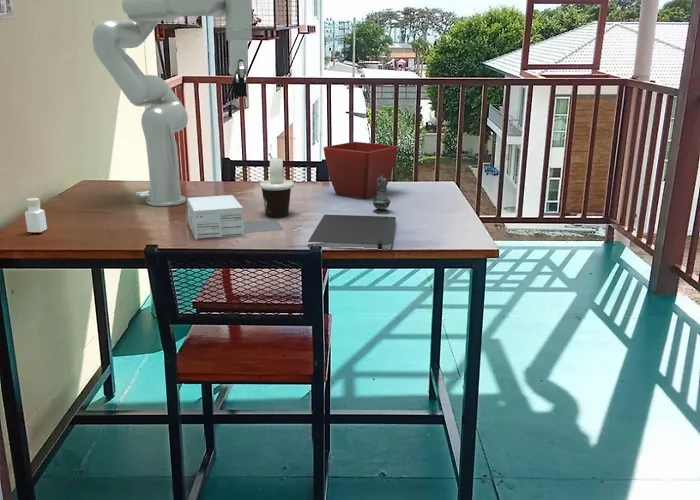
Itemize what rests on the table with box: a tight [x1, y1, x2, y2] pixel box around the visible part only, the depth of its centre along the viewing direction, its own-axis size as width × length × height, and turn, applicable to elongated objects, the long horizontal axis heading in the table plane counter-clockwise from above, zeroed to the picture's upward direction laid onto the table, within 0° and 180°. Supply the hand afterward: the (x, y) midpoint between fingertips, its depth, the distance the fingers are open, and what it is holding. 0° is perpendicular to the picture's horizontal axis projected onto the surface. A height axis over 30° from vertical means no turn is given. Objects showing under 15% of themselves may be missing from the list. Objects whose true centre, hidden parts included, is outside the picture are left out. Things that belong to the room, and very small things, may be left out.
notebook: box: [307, 214, 397, 249], centre depth 180 cm, size 22×2×28 cm
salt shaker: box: [24, 197, 48, 233], centre depth 178 cm, size 4×4×10 cm
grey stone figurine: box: [371, 175, 391, 215], centre depth 202 cm, size 6×6×12 cm
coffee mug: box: [261, 188, 292, 219], centre depth 194 cm, size 12×9×10 cm
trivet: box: [243, 219, 285, 234], centre depth 182 cm, size 11×11×2 cm
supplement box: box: [186, 194, 245, 240], centre depth 177 cm, size 17×13×9 cm
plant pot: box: [322, 141, 398, 199], centre depth 225 cm, size 19×19×17 cm
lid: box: [259, 157, 295, 190], centre depth 191 cm, size 10×10×8 cm
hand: (239, 94), depth 196 cm, fingers open, 9 cm apart
